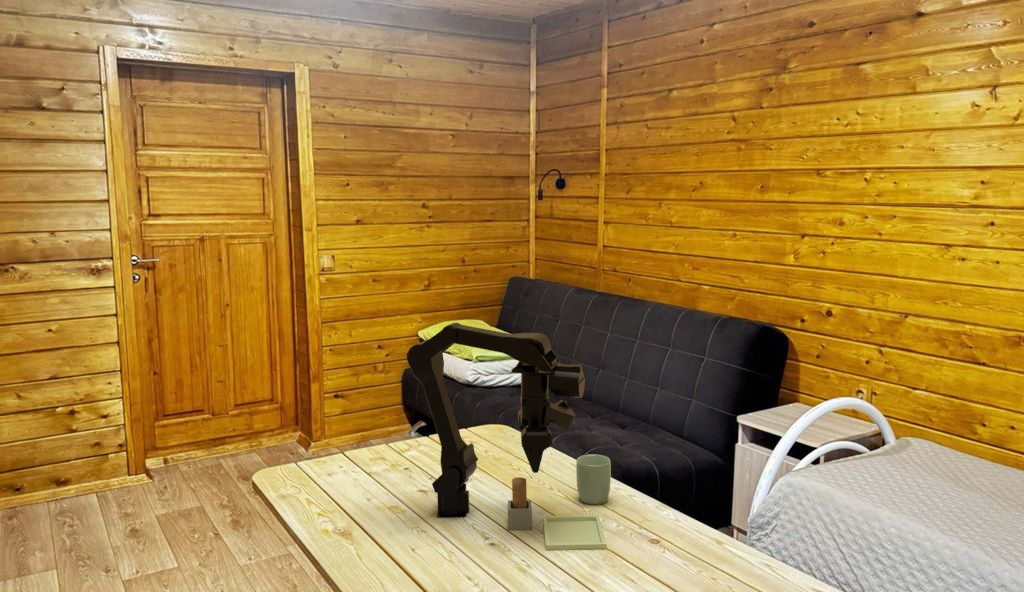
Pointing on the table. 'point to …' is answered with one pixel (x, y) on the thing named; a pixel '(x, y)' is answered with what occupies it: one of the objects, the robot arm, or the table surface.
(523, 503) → the dowel
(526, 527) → the pen cup
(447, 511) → the robot arm
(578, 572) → the table surface
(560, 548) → the tray
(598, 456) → the cup
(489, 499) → the table surface
